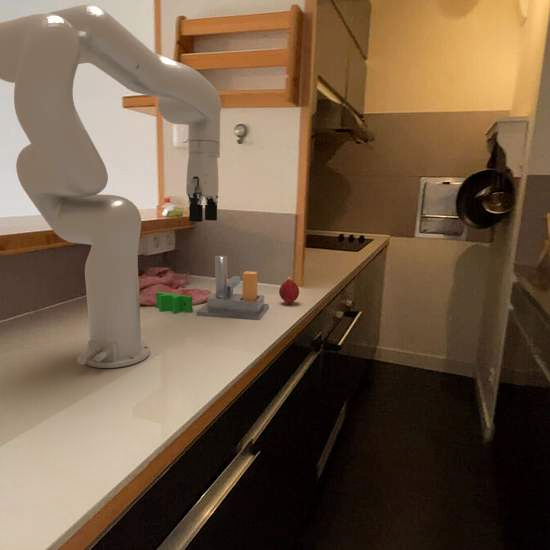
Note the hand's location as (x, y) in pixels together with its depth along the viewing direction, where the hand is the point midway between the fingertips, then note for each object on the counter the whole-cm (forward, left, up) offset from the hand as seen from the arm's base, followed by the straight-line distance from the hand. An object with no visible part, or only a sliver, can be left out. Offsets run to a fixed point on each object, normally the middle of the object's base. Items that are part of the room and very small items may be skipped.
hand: (203, 220), depth 108 cm
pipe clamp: (+3, +11, -25) cm, 28 cm away
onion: (+17, -19, -25) cm, 36 cm away
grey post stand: (+11, -6, -25) cm, 28 cm away
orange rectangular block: (+7, -10, -24) cm, 27 cm away
